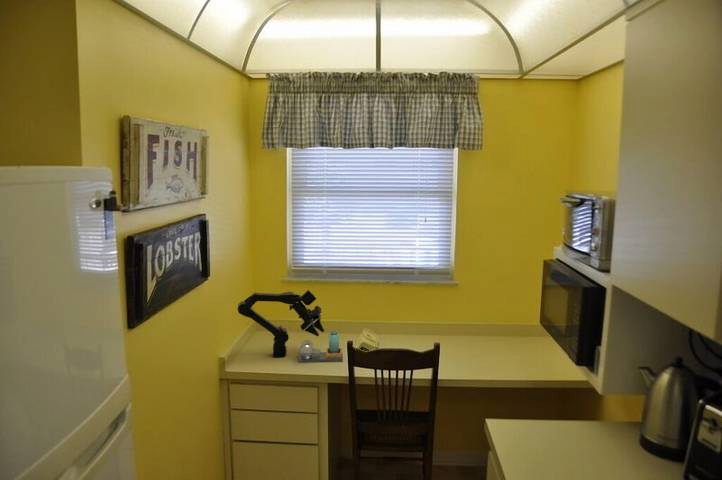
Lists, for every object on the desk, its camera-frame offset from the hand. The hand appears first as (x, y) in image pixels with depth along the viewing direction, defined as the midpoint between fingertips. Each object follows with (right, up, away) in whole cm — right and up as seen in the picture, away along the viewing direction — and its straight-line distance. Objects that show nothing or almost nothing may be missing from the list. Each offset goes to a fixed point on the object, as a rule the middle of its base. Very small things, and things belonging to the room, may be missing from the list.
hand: (321, 333), depth 275 cm
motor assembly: (0, -13, -2) cm, 13 cm away
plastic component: (+25, -11, +18) cm, 33 cm away
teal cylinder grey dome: (+7, -11, -1) cm, 13 cm away
